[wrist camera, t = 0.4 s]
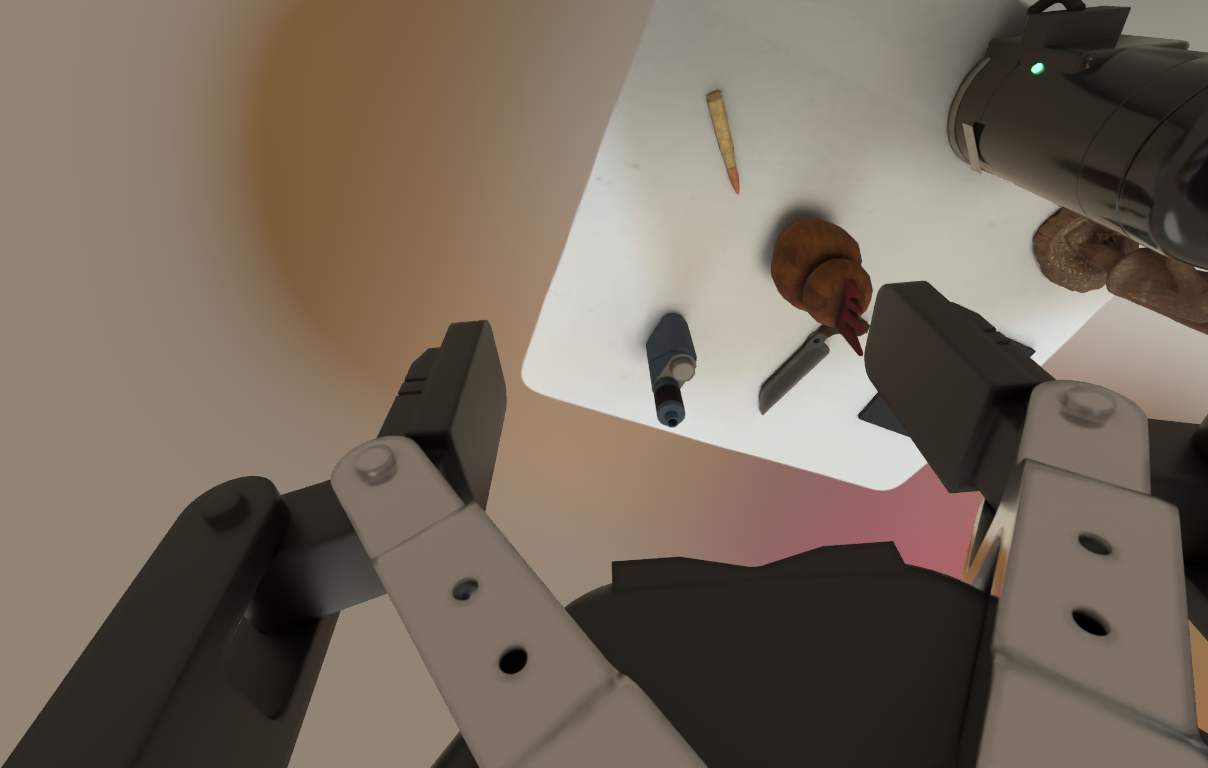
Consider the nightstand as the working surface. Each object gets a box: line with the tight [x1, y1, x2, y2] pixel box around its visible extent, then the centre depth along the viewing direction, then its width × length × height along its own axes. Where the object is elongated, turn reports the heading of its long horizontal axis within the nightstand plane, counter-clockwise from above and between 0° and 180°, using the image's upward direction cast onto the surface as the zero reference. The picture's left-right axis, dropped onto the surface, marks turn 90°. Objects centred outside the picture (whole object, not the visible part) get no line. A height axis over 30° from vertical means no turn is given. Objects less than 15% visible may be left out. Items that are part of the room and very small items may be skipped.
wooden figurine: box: [771, 219, 873, 356], centre depth 43 cm, size 7×6×15 cm
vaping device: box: [646, 314, 697, 427], centre depth 49 cm, size 3×5×12 cm, turn 152°
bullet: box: [707, 91, 739, 194], centre depth 43 cm, size 8×1×1 cm
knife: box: [760, 319, 870, 415], centre depth 56 cm, size 14×4×1 cm, turn 146°
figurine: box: [1034, 208, 1208, 335], centre depth 41 cm, size 9×8×20 cm
